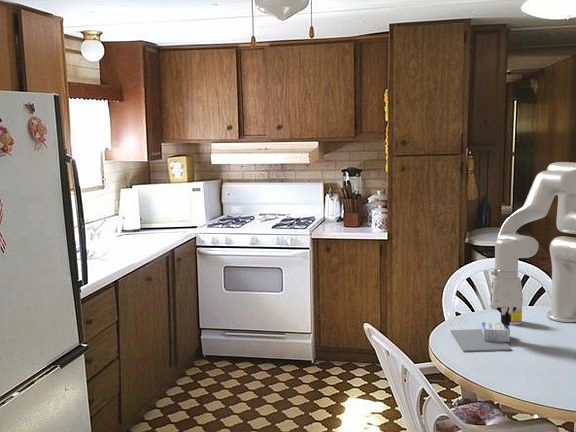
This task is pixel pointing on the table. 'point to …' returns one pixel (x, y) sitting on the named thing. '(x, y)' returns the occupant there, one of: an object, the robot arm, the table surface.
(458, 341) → the mat
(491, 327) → the medicine box
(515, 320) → the supplement bottle
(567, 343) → the table surface
